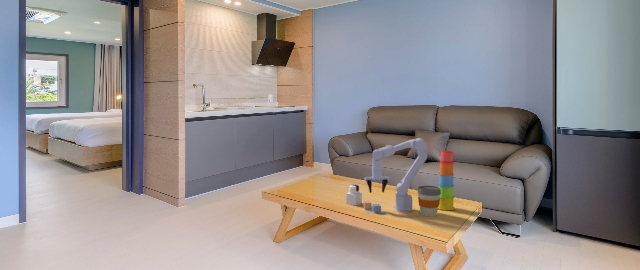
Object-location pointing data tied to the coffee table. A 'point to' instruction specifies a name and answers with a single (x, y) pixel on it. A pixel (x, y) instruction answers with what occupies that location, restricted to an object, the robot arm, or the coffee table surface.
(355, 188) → the medicine bottle
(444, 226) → the coffee table surface
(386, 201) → the coffee table surface
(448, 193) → the stacking cups
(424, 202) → the reusable coffee cup
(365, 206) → the salmon orange cube
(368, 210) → the plate
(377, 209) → the blue brick
